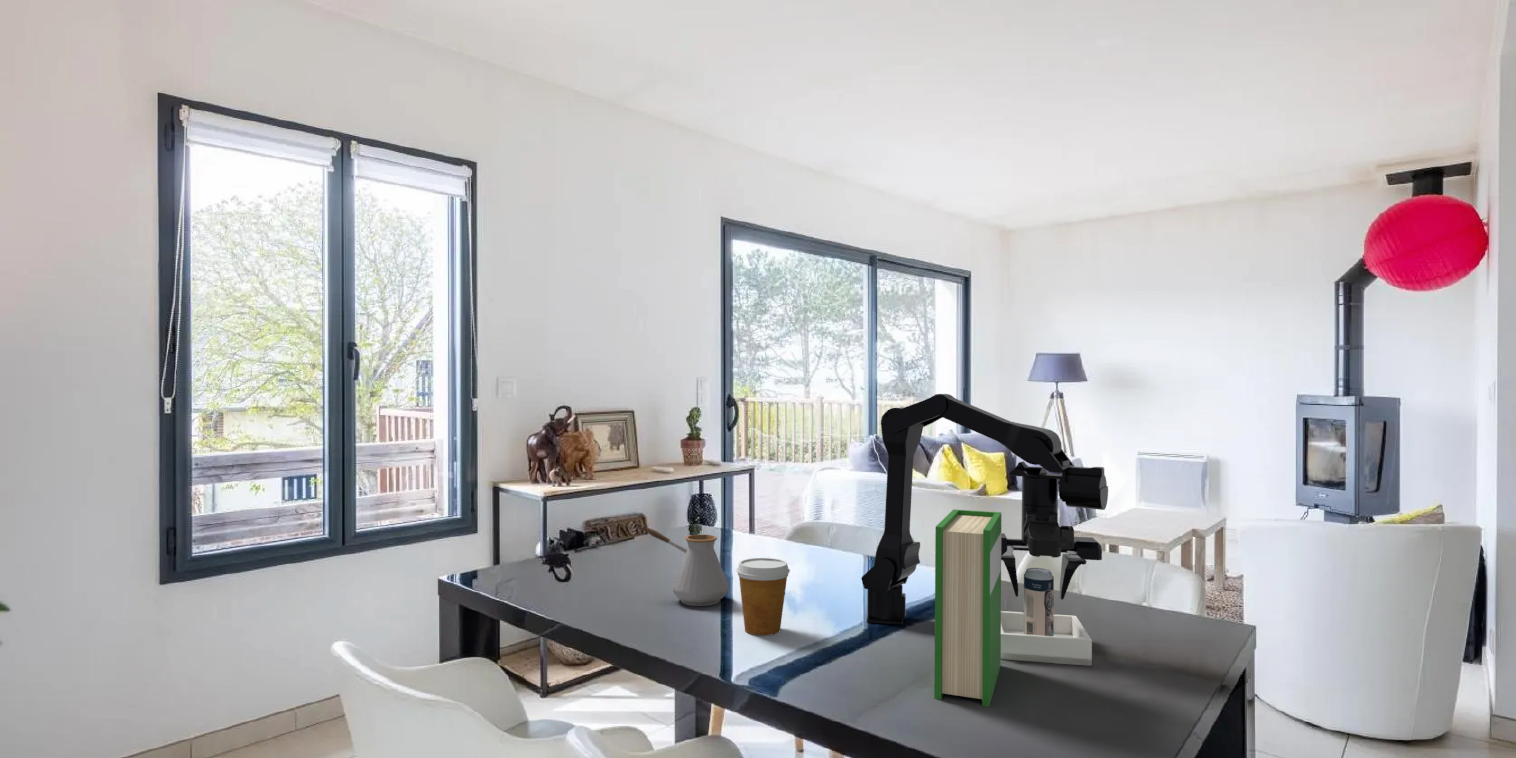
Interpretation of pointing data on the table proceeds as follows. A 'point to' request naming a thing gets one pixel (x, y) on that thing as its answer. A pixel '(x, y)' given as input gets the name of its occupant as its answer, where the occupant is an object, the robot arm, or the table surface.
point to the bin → (1045, 641)
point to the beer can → (1038, 602)
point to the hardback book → (968, 604)
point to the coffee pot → (696, 570)
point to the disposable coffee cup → (762, 593)
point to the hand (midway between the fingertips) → (1038, 597)
